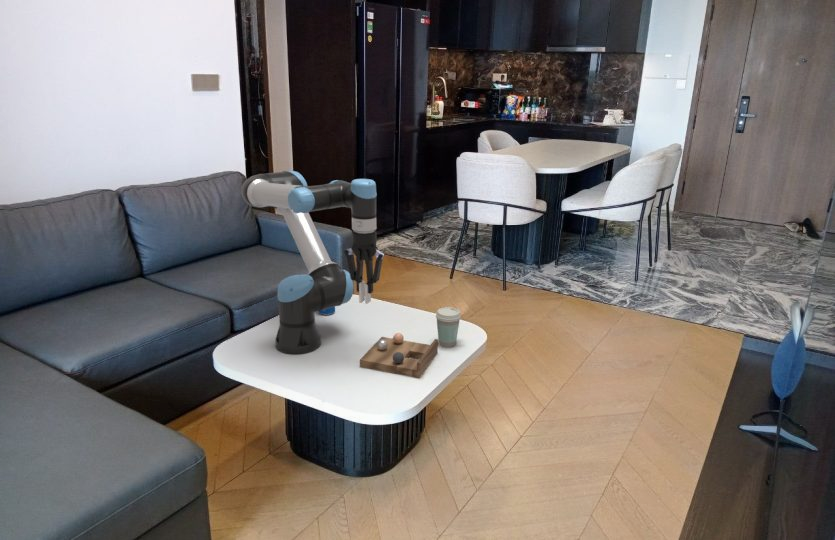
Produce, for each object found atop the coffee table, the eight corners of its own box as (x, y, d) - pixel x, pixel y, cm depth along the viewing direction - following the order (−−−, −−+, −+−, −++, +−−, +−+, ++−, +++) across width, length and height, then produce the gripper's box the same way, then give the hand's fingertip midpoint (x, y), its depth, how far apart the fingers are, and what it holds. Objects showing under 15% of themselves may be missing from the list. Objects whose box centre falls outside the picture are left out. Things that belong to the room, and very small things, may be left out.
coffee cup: (457, 350, 196) (459, 317, 192) (432, 347, 197) (433, 315, 194) (461, 339, 204) (462, 307, 200) (437, 337, 205) (438, 305, 202)
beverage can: (315, 315, 222) (314, 285, 218) (321, 308, 228) (320, 280, 224) (332, 316, 221) (331, 287, 217) (337, 310, 227) (336, 281, 223)
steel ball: (375, 351, 189) (375, 341, 188) (379, 346, 192) (379, 336, 191) (385, 352, 188) (385, 343, 187) (389, 348, 191) (389, 338, 190)
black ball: (391, 364, 180) (391, 354, 179) (395, 359, 184) (395, 349, 182) (401, 366, 179) (401, 355, 178) (405, 361, 183) (405, 351, 181)
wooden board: (359, 366, 184) (359, 352, 182) (381, 343, 200) (381, 330, 198) (419, 378, 178) (420, 363, 176) (437, 353, 194) (437, 339, 192)
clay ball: (391, 344, 194) (391, 334, 193) (395, 340, 197) (395, 330, 196) (401, 346, 193) (401, 336, 191) (405, 341, 196) (405, 332, 195)
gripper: (337, 230, 178) (339, 302, 185) (381, 235, 173) (381, 309, 181) (348, 225, 185) (349, 294, 192) (390, 229, 180) (390, 300, 188)
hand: (365, 301), depth 186 cm, fingers closed
